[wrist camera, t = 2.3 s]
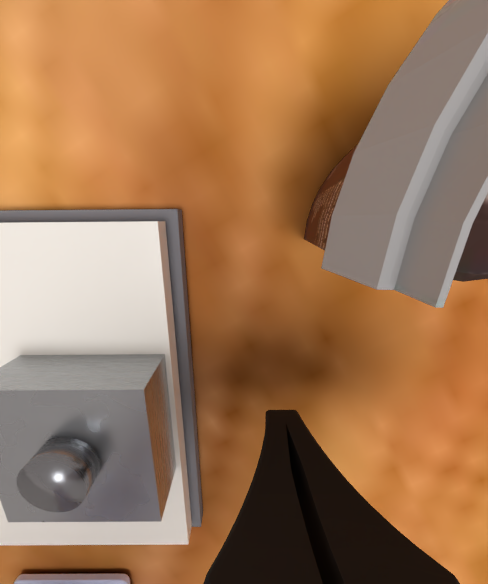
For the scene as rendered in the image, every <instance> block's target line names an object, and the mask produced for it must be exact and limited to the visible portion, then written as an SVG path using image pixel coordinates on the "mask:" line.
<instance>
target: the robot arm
mask: <svg viewBox="0 0 488 584" xmlns="http://www.w3.org/2000/svg"><path fill="white" fill-rule="evenodd" d="M14 584H130V578H129V576H128V575H126V574H123V573H106V574H21V575H19V576H18V577H17V579H16V580H15V582H14ZM204 584H460V583H459V582H458V580H457V579H456V577H455V576H454V575H453V574H452V573H451V572H449V571H448V570H447V569H445V568H444V567H443V566H441V565H440V564H439V563H438V562H436V561H435V560H434V559H432V558H431V557H430V556H429V555H427V554H426V553H425V552H423V551H422V550H421V549H419V548H418V547H417V546H416V545H415V544H413V543H412V542H411V541H410V540H409V539H407V538H406V537H405V536H404V535H403V534H402V533H400V532H399V531H398V530H397V529H396V528H395V527H394V526H392V525H391V524H390V523H389V522H388V521H387V520H386V519H385V518H384V517H383V516H382V515H381V514H380V513H379V512H377V511H376V510H375V509H374V508H373V507H372V506H371V505H370V504H369V503H368V502H367V501H366V500H365V499H364V498H363V497H362V496H361V495H360V494H359V493H358V492H357V491H356V489H355V488H354V487H353V486H352V485H351V484H350V483H349V482H348V481H347V480H346V478H345V477H344V476H343V475H342V474H341V473H340V471H339V470H338V469H337V468H336V467H335V465H334V464H333V463H332V462H331V460H330V459H329V458H328V457H327V455H326V454H325V453H324V451H323V450H322V449H321V447H320V446H319V444H318V443H317V442H316V440H315V439H314V437H313V436H312V435H311V433H310V432H309V430H308V428H307V427H306V425H305V424H304V422H303V421H302V419H301V417H300V415H299V414H298V412H297V411H296V410H268V411H267V412H266V428H265V436H264V441H263V446H262V450H261V454H260V458H259V461H258V465H257V468H256V471H255V474H254V477H253V480H252V483H251V486H250V488H249V491H248V493H247V496H246V498H245V501H244V503H243V506H242V508H241V510H240V512H239V515H238V517H237V519H236V521H235V523H234V525H233V527H232V529H231V531H230V533H229V535H228V537H227V539H226V541H225V543H224V545H223V547H222V548H221V550H220V552H219V554H218V555H217V557H216V559H215V561H214V562H213V564H212V566H211V568H210V569H209V571H208V573H207V575H206V578H205V581H204Z"/></svg>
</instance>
